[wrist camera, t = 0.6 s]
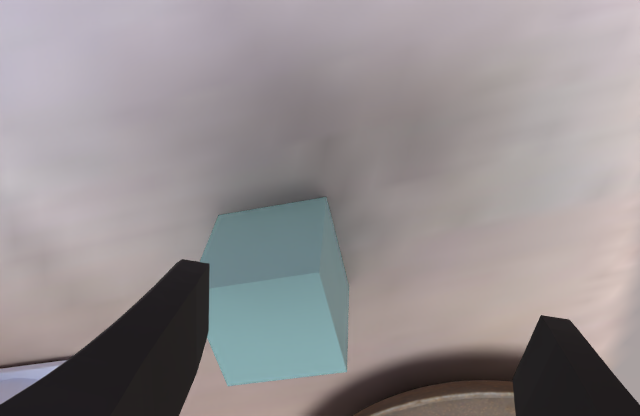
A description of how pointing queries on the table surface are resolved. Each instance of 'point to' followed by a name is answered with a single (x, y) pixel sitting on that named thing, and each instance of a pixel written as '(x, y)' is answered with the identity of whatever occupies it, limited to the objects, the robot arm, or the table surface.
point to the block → (277, 293)
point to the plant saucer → (449, 400)
